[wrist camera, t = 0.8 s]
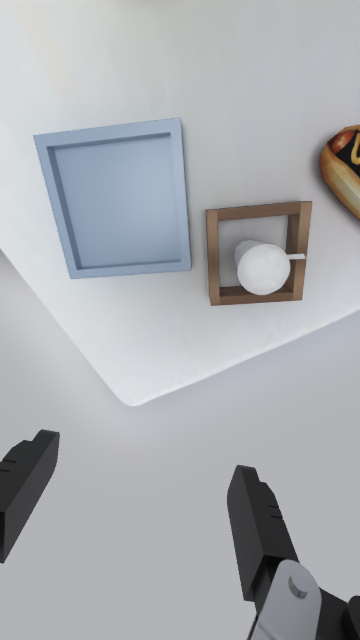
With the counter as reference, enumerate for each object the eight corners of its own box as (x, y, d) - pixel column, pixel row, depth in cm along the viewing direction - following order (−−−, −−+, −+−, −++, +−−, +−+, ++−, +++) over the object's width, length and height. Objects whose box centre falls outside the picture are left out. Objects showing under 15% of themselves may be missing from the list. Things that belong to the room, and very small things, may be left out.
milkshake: (280, 257, 31) (315, 280, 22) (238, 280, 32) (255, 310, 23) (263, 221, 29) (294, 230, 20) (221, 247, 31) (231, 266, 22)
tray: (46, 140, 27) (33, 135, 25) (181, 124, 26) (180, 117, 24) (79, 273, 33) (70, 279, 31) (191, 265, 32) (190, 270, 30)
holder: (205, 210, 29) (206, 211, 26) (299, 201, 28) (312, 201, 25) (209, 295, 33) (210, 305, 30) (291, 290, 32) (301, 300, 29)
